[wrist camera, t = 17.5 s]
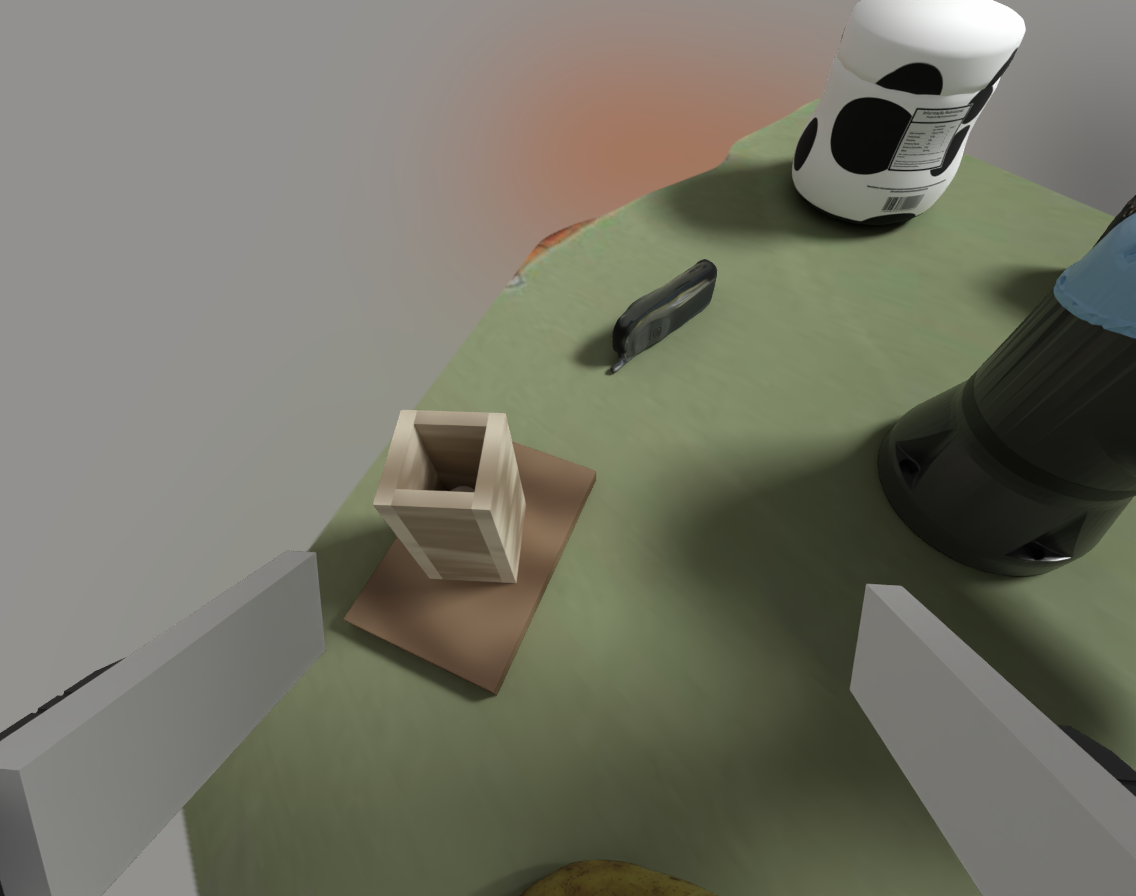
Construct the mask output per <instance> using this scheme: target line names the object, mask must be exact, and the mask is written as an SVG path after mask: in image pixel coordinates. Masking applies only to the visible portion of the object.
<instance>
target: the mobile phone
mask: <svg viewBox="0 0 1136 896" xmlns="http://www.w3.org/2000/svg"><path fill="white" fill-rule="evenodd" d="M716 277H717V268H716V266H715V265H714V264H713V263H712V262H710V261H708V260H706V259H704V260H701V261H699V262H697V263H696V264H695V265H694V266H693V267H691V268H690V269H688V270H687V271H685V272H684V273H682V274H681V275H679V276H677V277H676V278H675V279H673V280H672V281H670V282H669V283H667V284H666V285H664V286H663V287H661V288H659V289H657V290H655V291H653V292H651V293H649V294H647V295H645V296H643V297H641V298H639V299H638V300H636V301H635V302H634V303H632V304H631V305H630V306H629V308H628V309H627V310H626V312H625V313H624V314H623V315H622V316H621V317H620V318H619V319H618V320H617V322H616V325H615V327H614V330H613V349H614V350H615V351H616V352H617V353H618V354H619V360H618V362H617V363H616V364H614V365H613V366H612V367H611V371H612V372H613V373H615V372H617V371H618V370H619V369H620V368H622V367H623V366H624V365H625V364H626V363H627V362H629V361H630V360H631V359H632V358H634V357H635V356H636V355H638V354H640V353H641V352H642V351H644V350H645V349H646V348H648V347H650V346H652V345H654V344H656V343H658V342H659V341H661V340H662V339H663V338H665V337H666V336H667V335H668V334H670V333H671V332H672V331H674V330H675V329H677V328H679V327H680V326H682V325H683V324H685V323H686V322H687V321H689V320H690V319H691V318H693V317H694V316H695V315H697V314H698V313H700V312H701V311H702V310H703V309H704V308H705V307H706V306H707V305H708V304H709V303H710V301H711V298H712V294H713V291H714V287H715V282H716Z"/></svg>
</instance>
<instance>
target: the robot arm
mask: <svg viewBox="0 0 1136 896" xmlns="http://www.w3.org/2000/svg"><path fill="white" fill-rule="evenodd" d="M878 468H879V475H880V480H881V483H882V486H883V489H884V491H885V493H886V495H887V497H888V499H889V501H890V503H891V504H892V506H893V507H894V509H895V510H896V512H897V513H898V514H899V516H900V517H901V518H902V519H903V521H904V522H905V523H906V524H907V525H908V526H909V527H910V528H911V529H912V530H913V531H914V532H915V533H916V534H917V535H919V536H920V537H921V538H922V539H923V540H925V541H926V542H927V543H929V544H930V545H931V546H933V547H934V548H936V549H937V550H939V551H940V552H942V553H944V554H945V555H947V556H949V557H951V558H953V559H955V560H957V561H959V562H961V563H963V564H966V565H968V566H971V567H974V568H976V569H980V570H983V571H987V572H991V573H995V574H1001V575H1009V576H1031V575H1038V574H1043V573H1047V572H1050V571H1052V570H1055V569H1057V568H1059V567H1061V566H1064V565H1066V564H1068V563H1070V562H1072V561H1074V560H1076V559H1078V558H1080V557H1082V556H1083V555H1085V554H1086V553H1087V552H1089V551H1090V550H1091V549H1092V548H1094V547H1095V545H1096V544H1097V543H1098V542H1099V541H1100V540H1101V538H1102V537H1103V536H1104V534H1105V533H1106V532H1107V531H1108V529H1109V528H1110V527H1111V525H1112V524H1113V523H1114V521H1115V520H1116V519H1117V518H1118V516H1119V515H1120V514H1121V512H1122V511H1123V510H1124V509H1125V507H1126V506H1127V505H1128V503H1129V502H1130V501H1131V500H1132V498H1133V497H1134V496H1136V213H1134V214H1133V215H1131V216H1129V217H1128V218H1126V219H1124V220H1123V221H1122V222H1121V223H1119V224H1118V225H1117V226H1116V227H1114V228H1113V229H1112V230H1111V231H1110V232H1109V233H1108V234H1107V235H1106V236H1105V237H1104V238H1103V239H1102V240H1101V241H1100V242H1099V243H1098V244H1097V245H1096V246H1095V247H1094V248H1093V249H1091V250H1090V251H1089V252H1088V253H1087V254H1086V255H1085V256H1084V257H1083V258H1082V259H1081V260H1080V261H1078V262H1077V263H1075V264H1073V265H1072V266H1070V267H1069V268H1067V269H1066V270H1065V271H1064V272H1063V273H1062V274H1061V275H1060V276H1059V278H1058V279H1057V280H1056V285H1055V286H1054V289H1053V290H1052V291H1051V292H1050V293H1049V294H1048V295H1047V296H1046V297H1045V298H1044V299H1043V300H1042V301H1041V303H1040V304H1039V305H1038V306H1037V307H1036V308H1035V309H1034V310H1033V311H1032V312H1031V313H1030V314H1029V315H1028V317H1027V318H1026V319H1025V320H1024V321H1023V322H1022V323H1021V324H1020V325H1019V326H1018V327H1017V328H1016V330H1015V331H1014V332H1013V333H1012V334H1011V335H1010V336H1009V337H1008V338H1007V339H1006V340H1005V341H1004V342H1003V343H1002V344H1001V345H1000V347H999V348H998V349H997V350H996V351H995V352H994V353H993V354H992V355H991V356H990V357H989V358H988V359H987V360H986V361H985V362H984V363H983V364H982V366H981V367H980V368H979V369H978V370H977V371H976V372H975V373H974V374H973V375H972V376H971V377H970V378H969V379H968V380H967V381H965V382H963V383H961V384H959V385H957V386H955V387H953V388H951V389H949V390H947V391H945V392H943V393H941V394H939V395H937V396H935V397H933V398H931V399H929V400H927V401H925V402H923V403H921V404H919V405H917V406H915V407H914V408H912V409H911V410H910V411H908V412H907V413H906V414H905V415H904V416H903V417H902V418H901V419H900V420H899V421H898V422H897V423H896V424H895V426H894V427H893V428H892V429H891V430H890V431H889V433H888V434H887V435H886V437H885V438H884V440H883V442H882V445H881V448H880V451H879V458H878ZM325 651H326V650H325V640H324V629H323V619H322V609H321V598H320V588H319V578H318V568H317V557H316V552H302V551H286V552H284V553H283V554H281V555H280V556H278V557H277V558H275V559H274V560H272V561H271V562H269V563H268V564H266V565H265V566H263V567H262V568H260V569H259V570H257V571H256V572H254V573H253V574H251V575H250V576H248V577H247V578H245V579H244V580H242V581H240V582H239V583H237V584H236V585H235V586H233V587H231V588H230V589H228V590H227V591H226V592H224V593H222V594H221V595H219V596H218V597H216V598H215V599H213V600H212V601H211V602H209V603H207V604H206V605H204V606H203V607H201V608H200V609H198V610H197V611H195V612H194V613H193V614H191V615H189V616H188V617H186V618H185V619H183V620H182V621H180V622H179V623H177V624H176V625H174V626H173V627H171V628H170V629H169V630H167V631H165V632H164V633H162V634H161V635H159V636H158V637H156V638H155V639H153V640H152V641H150V642H149V643H147V644H146V645H144V646H143V647H142V648H140V649H138V650H137V651H135V652H134V653H132V654H131V655H129V656H128V657H126V658H124V659H121V660H119V661H117V662H115V663H112V664H110V665H108V666H106V667H104V668H101V669H99V670H97V671H95V672H93V673H92V674H90V675H89V676H87V677H86V678H84V679H83V680H81V681H79V682H78V683H77V684H75V685H73V686H72V687H70V688H69V689H67V690H66V691H64V694H63V695H62V696H56V697H55V698H54V699H52V700H50V701H49V702H48V703H46V704H44V705H43V706H41V707H40V708H38V711H37V712H36V713H31V714H29V715H27V716H26V717H24V718H23V719H21V720H20V721H18V722H17V723H15V724H14V725H12V726H10V727H9V728H7V729H6V730H4V731H3V732H1V733H0V896H102V895H103V894H104V892H105V891H106V890H107V889H108V888H109V887H110V886H111V885H112V883H114V881H115V880H116V879H117V878H118V877H119V876H120V875H121V874H122V873H123V872H124V870H125V869H126V868H127V867H128V866H129V865H130V864H131V863H132V862H133V861H134V860H135V859H136V857H137V856H138V855H139V854H140V853H141V852H142V851H143V850H144V849H145V848H146V846H147V845H148V844H149V843H150V842H151V841H152V840H153V839H154V838H155V837H156V836H157V834H158V833H159V832H160V831H161V830H162V829H163V828H164V827H165V826H166V825H167V823H168V822H169V821H170V820H171V819H172V818H173V817H174V816H175V815H176V813H177V812H178V811H179V810H180V809H181V808H182V807H183V806H184V805H185V804H186V803H187V802H188V801H189V799H190V798H191V797H192V796H193V795H194V794H195V793H196V792H197V791H198V790H199V788H200V787H201V786H202V785H203V784H204V783H205V782H206V781H207V780H208V779H209V778H210V776H211V775H212V774H213V773H214V772H215V771H216V770H217V769H218V768H219V767H220V766H221V764H222V763H223V762H224V761H225V760H226V759H227V758H228V757H229V756H230V755H231V753H232V752H233V751H234V750H235V749H236V748H237V747H238V746H239V745H240V744H241V743H242V741H243V740H244V739H245V738H246V737H247V736H248V735H249V734H250V733H251V732H252V731H253V729H254V728H255V727H256V726H257V725H258V724H259V723H260V722H261V721H262V720H263V718H264V717H265V716H266V715H267V714H268V713H269V712H270V711H271V710H272V709H273V708H274V706H275V705H276V704H277V703H278V702H279V701H280V700H281V699H282V698H283V697H284V695H285V694H286V693H287V692H288V691H289V690H290V689H291V688H292V687H293V686H294V685H295V683H296V682H297V681H298V680H299V679H300V678H301V677H302V676H303V675H304V674H305V673H306V671H307V670H308V669H309V668H310V667H311V666H312V665H313V664H314V663H315V662H316V660H317V659H318V658H319V657H320V656H321V655H322V654H323V653H324V652H325ZM850 691H851V692H852V694H853V696H854V697H855V699H856V700H857V702H858V703H859V705H860V706H861V708H862V710H863V711H864V713H865V714H866V716H867V717H868V719H869V720H870V722H871V723H872V725H873V727H874V728H875V730H876V731H877V733H878V734H879V736H880V737H881V739H882V741H883V742H884V744H885V745H886V747H887V748H888V750H889V751H890V753H891V755H892V756H893V758H894V759H895V761H896V762H897V764H898V765H899V767H900V768H901V770H902V772H903V773H904V775H905V776H906V778H907V779H908V781H909V782H910V784H911V786H912V787H913V789H914V790H915V792H916V793H917V795H918V796H919V798H920V800H921V801H922V803H923V804H924V806H925V807H926V809H927V810H928V812H929V813H930V815H931V817H932V818H933V820H934V821H935V823H936V824H937V826H938V827H939V829H940V831H941V832H942V834H943V835H944V837H945V838H946V840H947V841H948V843H949V845H950V846H951V848H952V849H953V851H954V852H955V854H956V855H957V857H958V859H959V860H960V862H961V863H962V865H963V866H964V868H965V869H966V871H967V872H968V874H969V876H970V877H971V879H972V880H973V882H974V883H975V885H976V886H977V888H978V890H979V891H980V893H981V894H982V896H1136V772H1135V771H1134V770H1133V769H1132V768H1131V767H1130V766H1128V765H1127V764H1126V763H1125V762H1124V761H1123V760H1121V759H1120V758H1119V757H1118V756H1117V755H1115V754H1114V753H1113V752H1112V751H1110V750H1108V749H1107V748H1105V747H1104V746H1102V745H1100V744H1099V743H1097V742H1095V741H1094V740H1092V739H1090V738H1089V737H1087V736H1085V735H1084V734H1082V733H1080V732H1079V731H1077V730H1075V729H1074V728H1072V727H1070V726H1061V725H1055V724H1054V723H1053V722H1052V721H1051V720H1050V719H1049V718H1048V717H1047V716H1045V715H1044V714H1043V713H1042V712H1041V711H1040V710H1039V709H1038V708H1037V707H1035V706H1034V705H1033V704H1032V703H1031V702H1030V701H1029V700H1028V699H1027V698H1025V697H1024V696H1023V695H1022V694H1021V693H1020V692H1019V691H1018V690H1017V689H1016V688H1014V687H1013V686H1012V685H1011V684H1010V683H1009V682H1008V681H1007V680H1006V679H1004V678H1003V677H1002V676H1001V675H1000V674H999V673H998V672H997V671H996V670H994V669H993V668H992V667H991V666H990V665H989V664H988V663H987V662H986V661H984V660H983V659H982V658H981V657H980V656H979V655H978V654H977V653H976V652H974V651H973V650H972V649H971V648H970V647H969V646H968V645H967V644H966V643H964V642H963V641H962V640H961V639H960V638H959V637H958V636H957V635H956V634H954V633H953V632H952V631H951V630H950V629H949V628H948V627H947V626H946V625H945V624H943V623H942V622H941V621H940V620H939V619H938V618H937V617H936V616H935V615H933V614H932V613H931V612H930V611H929V610H928V609H927V608H926V607H925V606H923V605H922V604H921V603H920V602H919V601H918V600H917V599H916V598H915V597H913V596H912V595H911V594H910V593H909V592H908V591H907V590H906V589H905V588H903V587H902V586H895V585H878V584H866V589H865V595H864V601H863V608H862V614H861V620H860V627H859V633H858V640H857V646H856V652H855V659H854V665H853V672H852V678H851V684H850Z"/></svg>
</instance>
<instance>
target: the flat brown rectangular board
mask: <svg viewBox="0 0 1136 896" xmlns="http://www.w3.org/2000/svg"><path fill="white" fill-rule="evenodd" d="M512 444H513V449H514V453H515V457H516V462H517V466H518V471H519V475H520V480H521V484H522V489H523V493H524V498H525V502H526V508H525V516H524V524H523V532H522V540H521V549H520V557H519V565H518V573H517V581H516V583H501V582H482V581H464V580H446V579H430V578H429V577H428V576H427V574H426V573H425V572H424V571H423V569H422V568H421V567H420V565H419V564H418V563H417V561H416V560H415V559H414V558H413V556H412V555H411V554H410V552H409V551H408V550H407V548H406V547H405V546H404V545H403V543H402V542H401V541H400V539H399V538H398V537H396V539H395V540H394V542H393V543H392V545H391V546H390V548H389V549H388V551H387V553H386V554H385V556H384V557H383V559H382V560H381V562H380V563H379V565H378V566H377V568H376V570H375V571H374V573H373V574H372V576H371V577H370V579H369V580H368V582H367V583H366V585H365V586H364V588H363V590H362V591H361V593H360V594H359V596H358V597H357V599H356V600H355V602H354V603H353V605H352V607H351V608H350V610H349V611H348V613H347V614H346V616H345V617H344V620H346V621H347V622H348V623H350V624H351V625H353V626H356V627H358V628H360V629H362V630H364V631H366V632H368V633H370V634H372V635H374V636H376V637H378V638H380V639H382V640H384V641H386V642H388V643H390V644H392V645H394V646H396V647H398V648H400V649H403V650H405V651H407V652H409V653H411V654H413V655H415V656H417V657H419V658H421V659H423V660H425V661H427V662H429V663H431V664H433V665H435V666H437V667H439V668H441V669H443V670H445V671H448V672H450V673H452V674H454V675H456V676H458V677H460V678H462V679H464V680H466V681H468V682H470V683H472V684H474V685H476V686H478V687H480V688H482V689H484V690H486V691H488V692H490V693H493V694H495V695H497V694H498V692H499V690H500V687H501V685H502V683H503V681H504V679H505V677H506V674H507V672H508V670H509V668H510V666H511V663H512V661H513V659H514V657H515V655H516V653H517V650H518V648H519V646H520V644H521V642H522V640H523V637H524V635H525V633H526V631H527V629H528V627H529V624H530V622H531V620H532V618H533V616H534V614H535V611H536V609H537V607H538V605H539V603H540V600H541V598H542V596H543V594H544V592H545V590H546V587H547V585H548V583H549V581H550V579H551V577H552V574H553V572H554V570H555V568H556V566H557V564H558V561H559V559H560V557H561V555H562V553H563V551H564V548H565V546H566V544H567V542H568V540H569V537H570V535H571V533H572V531H573V529H574V527H575V524H576V522H577V520H578V518H579V516H580V514H581V511H582V509H583V507H584V505H585V503H586V501H587V498H588V496H589V494H590V492H591V490H592V488H593V485H594V483H595V481H596V471H594V470H591V469H589V468H586V467H583V466H580V465H577V464H574V463H572V462H569V461H566V460H563V459H560V458H557V457H555V456H552V455H549V454H546V453H543V452H540V451H538V450H535V449H532V448H529V447H526V446H523V445H521V444H518V443H515V442H512ZM451 492H475V490H474V489H473V488H471V487H468V486H459V487H456V488H454V489H452V490H451Z"/></svg>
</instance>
